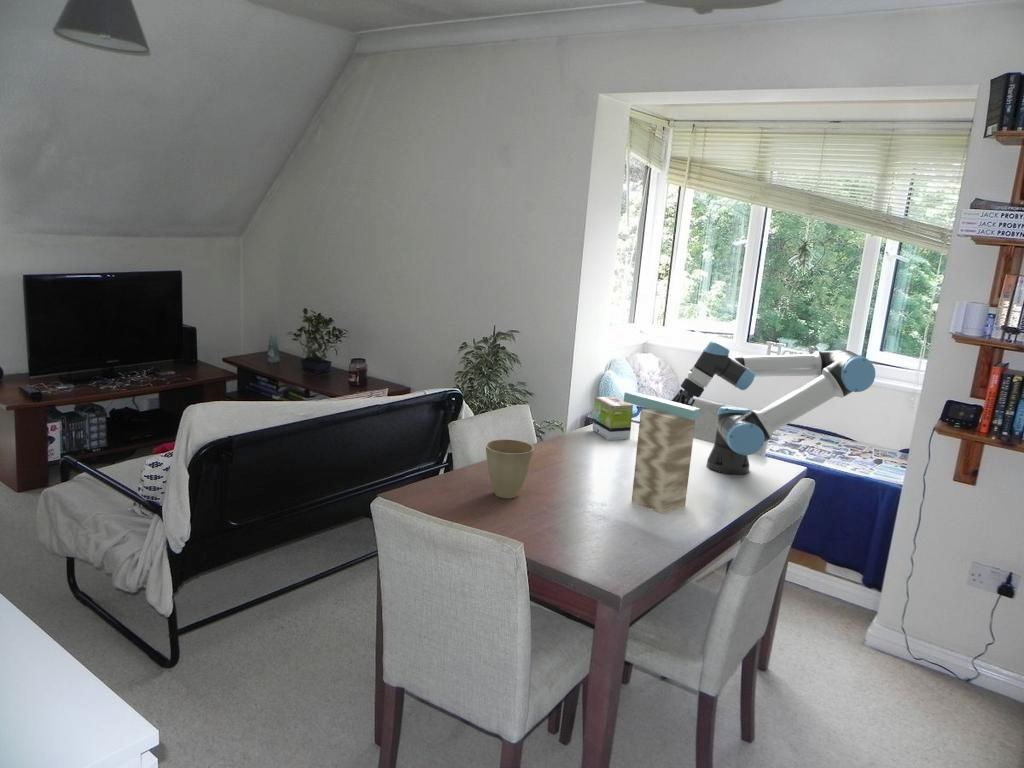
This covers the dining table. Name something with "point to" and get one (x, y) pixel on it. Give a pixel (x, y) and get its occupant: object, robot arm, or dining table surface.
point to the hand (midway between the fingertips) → (661, 433)
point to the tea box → (612, 418)
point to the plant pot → (508, 465)
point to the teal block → (662, 405)
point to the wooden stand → (662, 460)
